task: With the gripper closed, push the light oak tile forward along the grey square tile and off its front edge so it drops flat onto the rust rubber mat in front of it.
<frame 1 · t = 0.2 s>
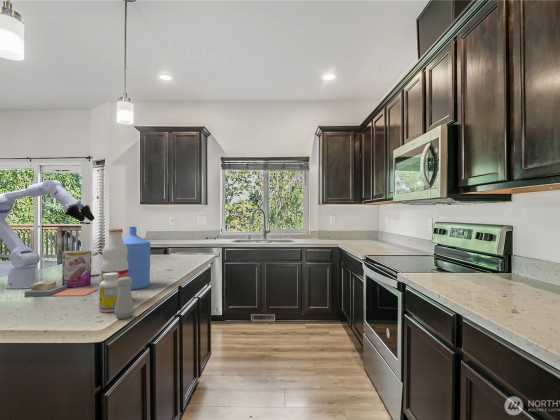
hand: (88, 219, 145), 31 cm above the countertop, tool tilted 45°, fingers open, 7 cm apart
water jug: (131, 287, 145), on the countertop
oak tile: (44, 288, 132), point 2 cm above the countertop, touching grey square tile
mat: (75, 292, 133), on the countertop
grey square tile: (46, 293, 132), on the countertop
fruit juice: (114, 300, 122), on the countertop
candy bar box: (76, 286, 145), on the countertop
supplement bottle: (109, 310, 109), on the countertop
salt shaker: (124, 317, 102), on the countertop
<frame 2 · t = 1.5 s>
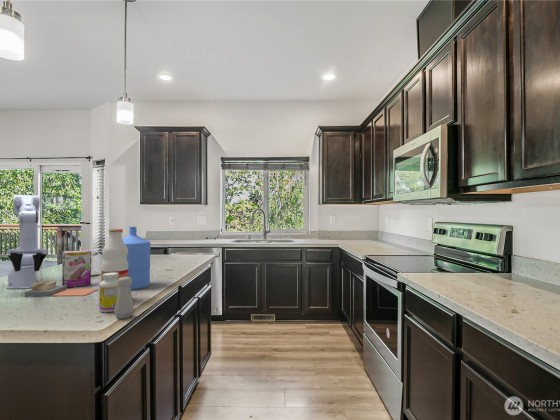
hand: (27, 271, 131), 9 cm above the countertop, tool pointing down, fingers open, 7 cm apart
nothing on the countertop moved.
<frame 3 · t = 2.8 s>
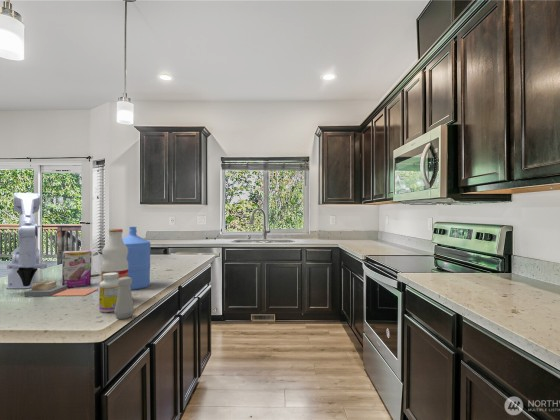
hand: (26, 285, 131), 3 cm above the countertop, tool pointing down, fingers closed
nothing on the countertop moved.
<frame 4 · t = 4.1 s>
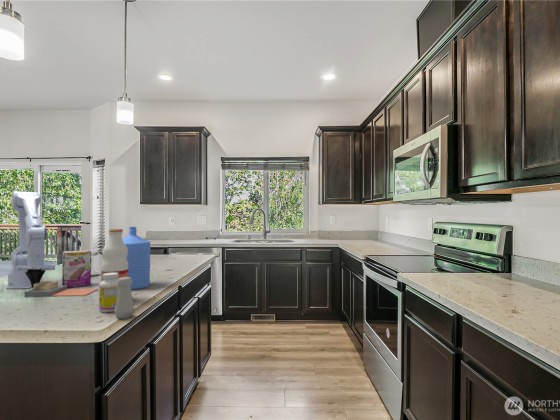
hand: (35, 287, 131), 3 cm above the countertop, tool pointing down, fingers closed
oak tile: (46, 288, 132), point 2 cm above the countertop
everything else where it was.
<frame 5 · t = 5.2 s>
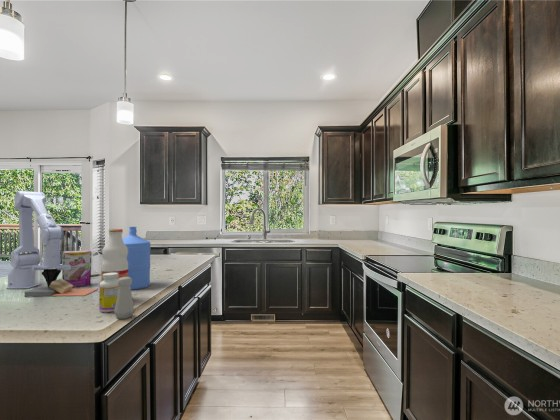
hand: (51, 287, 132), 3 cm above the countertop, tool pointing down, fingers closed
oak tile: (59, 288, 132), point 2 cm above the countertop, tilted 31°, touching gripper, mat
everything else where it was.
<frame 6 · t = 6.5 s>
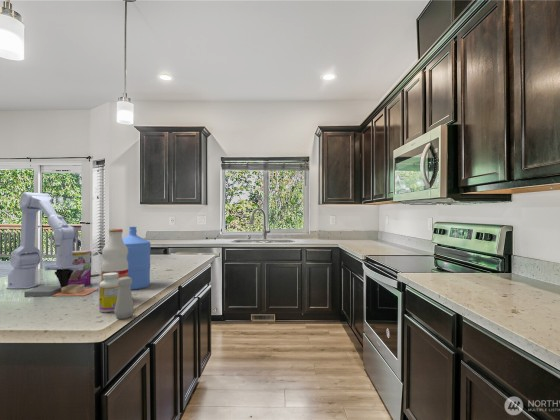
hand: (63, 287, 132), 3 cm above the countertop, tool pointing down, fingers closed
oak tile: (73, 291, 133), resting on mat, touching gripper
everything else where it was.
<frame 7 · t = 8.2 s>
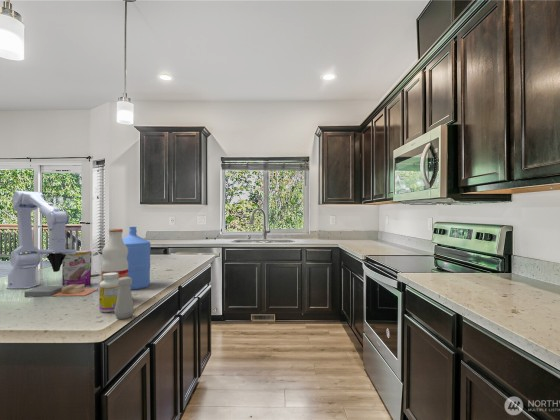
hand: (56, 271, 132), 9 cm above the countertop, tool pointing down, fingers closed
oak tile: (73, 291, 133), resting on mat
everything else where it was.
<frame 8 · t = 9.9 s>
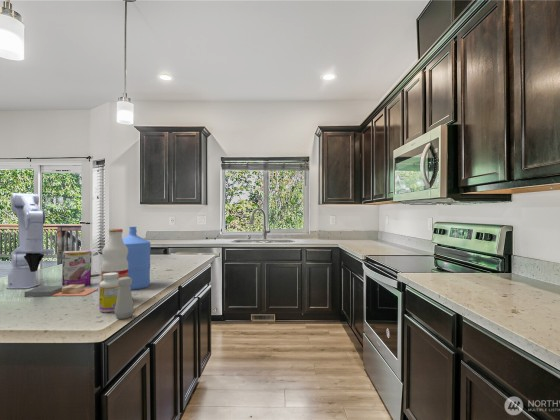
hand: (33, 271, 131), 9 cm above the countertop, tool pointing down, fingers closed
nothing on the countertop moved.
at the end: oak tile inside the target area (1.7 cm from its centre), resting on mat; oak tile touching mat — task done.
